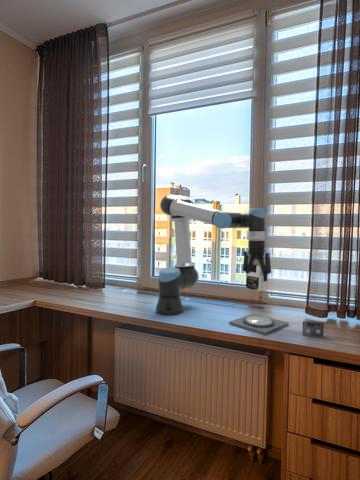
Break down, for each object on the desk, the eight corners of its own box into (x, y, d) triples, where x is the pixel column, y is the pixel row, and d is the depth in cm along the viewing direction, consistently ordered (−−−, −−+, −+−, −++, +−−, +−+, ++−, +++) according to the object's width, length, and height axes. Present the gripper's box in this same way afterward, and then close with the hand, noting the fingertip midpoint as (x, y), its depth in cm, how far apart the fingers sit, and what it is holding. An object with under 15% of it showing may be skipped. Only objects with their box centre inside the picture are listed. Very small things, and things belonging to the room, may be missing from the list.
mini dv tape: (322, 335, 135) (323, 322, 135) (323, 337, 133) (323, 323, 133) (302, 334, 137) (302, 320, 137) (302, 335, 136) (303, 321, 135)
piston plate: (229, 324, 150) (229, 319, 150) (253, 315, 164) (253, 311, 163) (265, 335, 135) (265, 330, 135) (288, 325, 149) (288, 320, 149)
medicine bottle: (245, 288, 153) (246, 264, 152) (253, 286, 158) (254, 263, 157) (258, 291, 148) (259, 266, 147) (266, 289, 153) (267, 265, 152)
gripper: (235, 239, 156) (235, 285, 157) (271, 240, 142) (271, 290, 143) (243, 239, 161) (243, 283, 162) (279, 240, 147) (279, 288, 148)
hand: (256, 286), depth 153 cm, fingers closed on medicine bottle, 7 cm apart
